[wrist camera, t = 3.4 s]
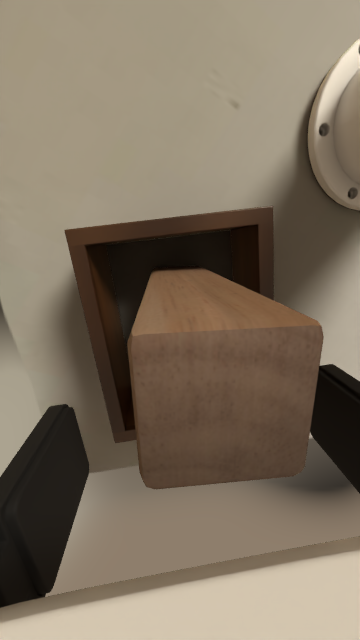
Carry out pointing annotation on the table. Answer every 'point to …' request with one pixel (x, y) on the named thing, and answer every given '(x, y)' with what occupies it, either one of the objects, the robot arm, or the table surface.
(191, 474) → the wooden block
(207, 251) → the table surface
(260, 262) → the wooden box
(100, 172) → the table surface
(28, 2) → the table surface
